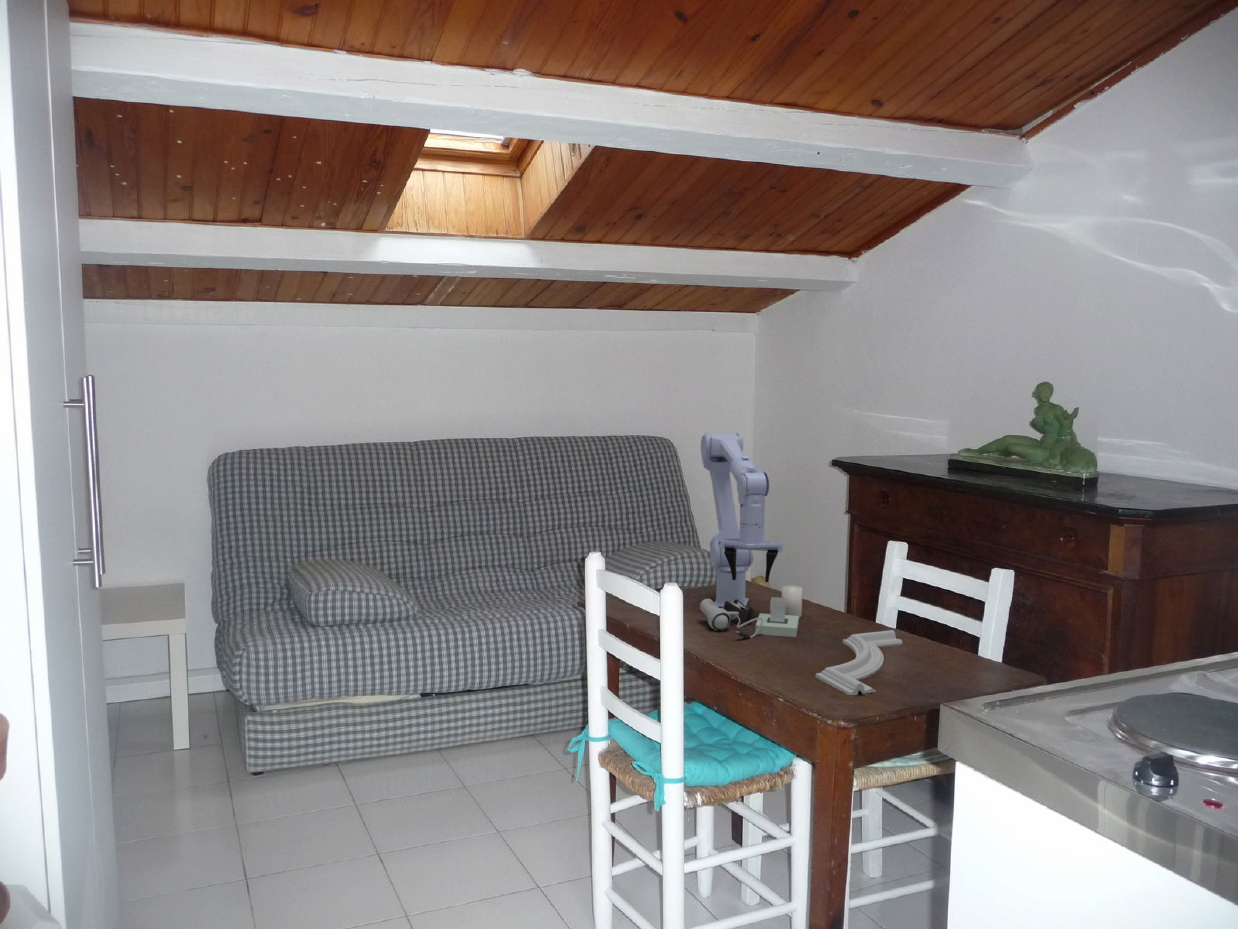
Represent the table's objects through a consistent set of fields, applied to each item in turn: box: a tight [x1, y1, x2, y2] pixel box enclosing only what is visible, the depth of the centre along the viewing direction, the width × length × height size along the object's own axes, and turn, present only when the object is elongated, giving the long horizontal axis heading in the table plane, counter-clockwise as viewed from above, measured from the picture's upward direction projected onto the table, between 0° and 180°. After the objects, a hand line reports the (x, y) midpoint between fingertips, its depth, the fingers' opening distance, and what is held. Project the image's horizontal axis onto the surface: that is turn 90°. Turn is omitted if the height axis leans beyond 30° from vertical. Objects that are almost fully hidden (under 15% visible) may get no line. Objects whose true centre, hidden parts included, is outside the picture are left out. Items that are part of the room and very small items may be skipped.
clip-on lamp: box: [699, 598, 763, 640], centre depth 224 cm, size 12×6×18 cm
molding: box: [815, 629, 904, 696], centre depth 200 cm, size 42×12×3 cm, turn 156°
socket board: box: [754, 612, 800, 638], centre depth 224 cm, size 11×9×2 cm
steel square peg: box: [769, 596, 786, 624], centre depth 224 cm, size 3×3×7 cm
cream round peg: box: [781, 584, 803, 619], centre depth 236 cm, size 5×5×7 cm
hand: (750, 580), depth 232 cm, fingers open, 7 cm apart
